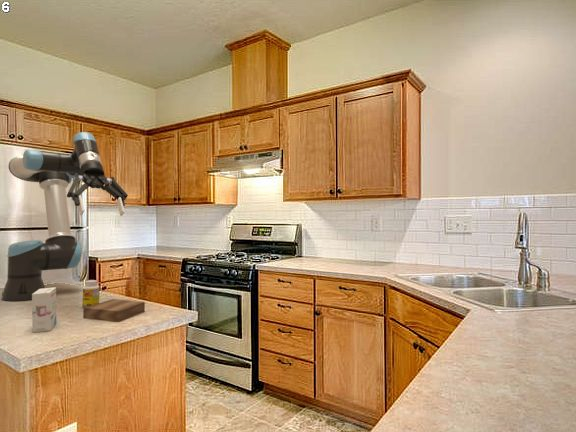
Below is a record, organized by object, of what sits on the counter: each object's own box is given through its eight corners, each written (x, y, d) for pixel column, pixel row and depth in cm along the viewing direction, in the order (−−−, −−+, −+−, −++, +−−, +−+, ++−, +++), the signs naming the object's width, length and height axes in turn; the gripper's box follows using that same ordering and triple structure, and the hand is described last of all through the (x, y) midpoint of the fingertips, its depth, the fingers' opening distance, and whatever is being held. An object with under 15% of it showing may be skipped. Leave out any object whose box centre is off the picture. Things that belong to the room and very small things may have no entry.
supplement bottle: (79, 308, 140) (79, 281, 140) (93, 305, 145) (93, 279, 145) (88, 310, 137) (88, 282, 137) (102, 307, 142) (102, 280, 142)
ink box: (38, 324, 120) (39, 287, 120) (56, 323, 121) (57, 286, 121) (31, 332, 112) (31, 293, 112) (50, 331, 113) (51, 292, 113)
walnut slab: (83, 319, 128) (83, 307, 128) (112, 309, 141) (112, 299, 141) (118, 323, 124) (118, 311, 124) (144, 312, 138) (144, 302, 138)
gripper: (56, 156, 130) (66, 205, 121) (128, 164, 148) (141, 208, 139) (51, 170, 134) (60, 218, 125) (121, 176, 152) (134, 219, 144)
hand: (103, 213), depth 132 cm, fingers open, 13 cm apart
